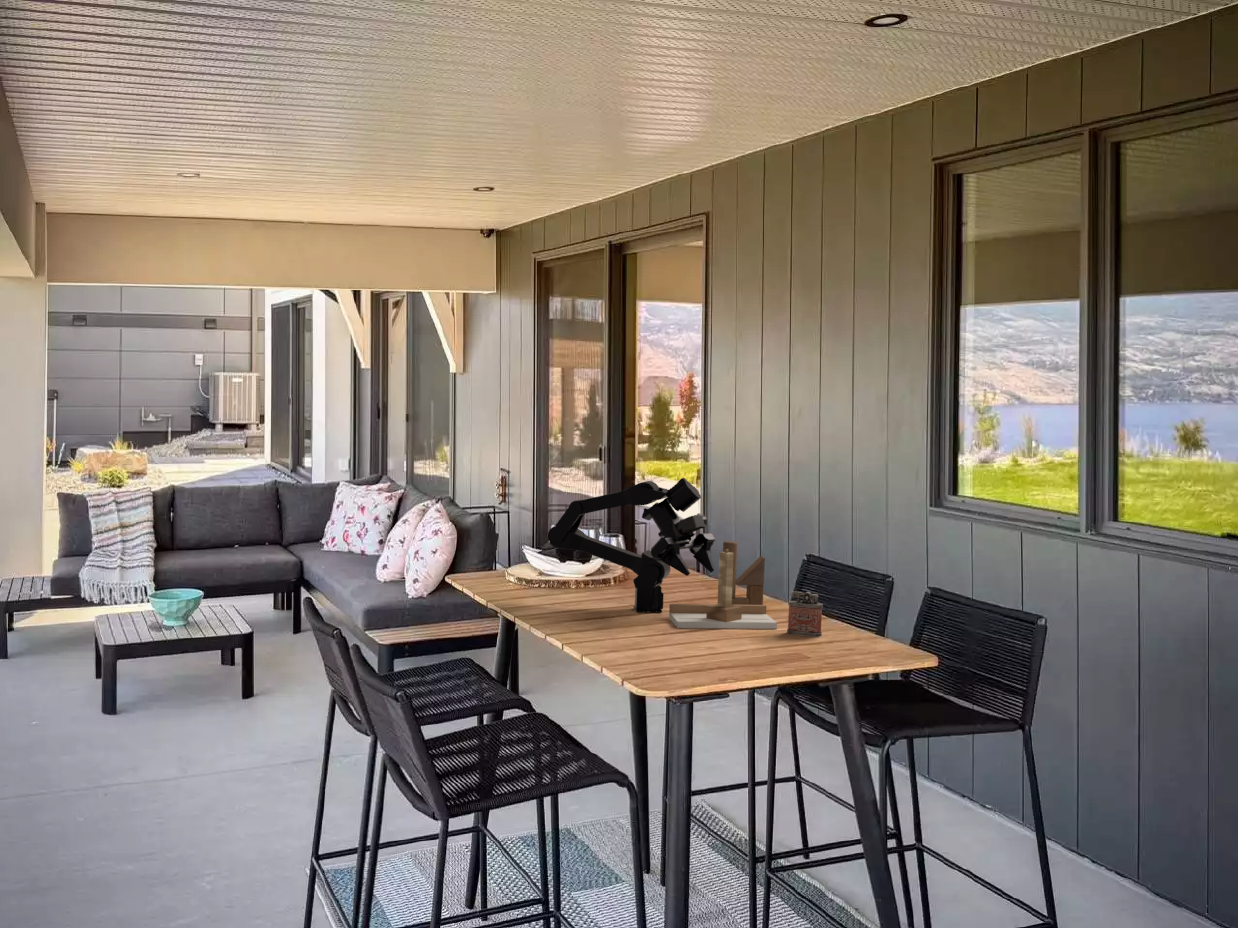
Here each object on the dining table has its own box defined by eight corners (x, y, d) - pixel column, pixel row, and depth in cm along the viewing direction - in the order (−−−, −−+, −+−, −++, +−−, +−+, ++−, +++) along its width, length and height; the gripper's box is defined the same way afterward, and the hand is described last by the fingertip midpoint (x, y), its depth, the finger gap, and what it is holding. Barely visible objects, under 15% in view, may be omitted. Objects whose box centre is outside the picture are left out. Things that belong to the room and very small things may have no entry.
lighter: (822, 634, 276) (824, 592, 275) (820, 637, 272) (822, 594, 272) (788, 631, 278) (790, 589, 277) (785, 634, 275) (787, 591, 274)
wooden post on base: (706, 618, 283) (709, 548, 282) (721, 615, 287) (724, 546, 286) (726, 622, 279) (729, 551, 278) (741, 619, 283) (744, 549, 282)
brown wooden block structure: (762, 613, 300) (765, 542, 299) (722, 613, 298) (724, 542, 297) (758, 610, 304) (761, 541, 302) (718, 610, 302) (720, 540, 300)
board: (677, 627, 278) (678, 613, 277) (669, 617, 289) (669, 603, 289) (776, 628, 281) (777, 614, 280) (764, 618, 292) (765, 604, 292)
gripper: (661, 504, 283) (694, 555, 276) (711, 500, 296) (743, 549, 290) (636, 533, 289) (668, 584, 282) (686, 528, 302) (717, 577, 296)
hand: (700, 572), depth 287 cm, fingers open, 9 cm apart
